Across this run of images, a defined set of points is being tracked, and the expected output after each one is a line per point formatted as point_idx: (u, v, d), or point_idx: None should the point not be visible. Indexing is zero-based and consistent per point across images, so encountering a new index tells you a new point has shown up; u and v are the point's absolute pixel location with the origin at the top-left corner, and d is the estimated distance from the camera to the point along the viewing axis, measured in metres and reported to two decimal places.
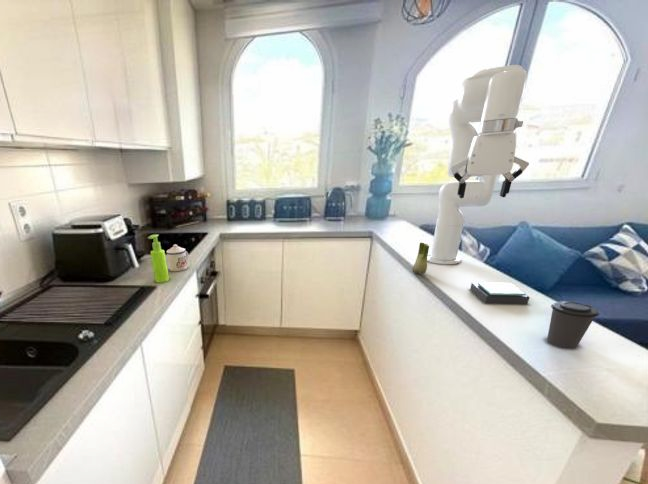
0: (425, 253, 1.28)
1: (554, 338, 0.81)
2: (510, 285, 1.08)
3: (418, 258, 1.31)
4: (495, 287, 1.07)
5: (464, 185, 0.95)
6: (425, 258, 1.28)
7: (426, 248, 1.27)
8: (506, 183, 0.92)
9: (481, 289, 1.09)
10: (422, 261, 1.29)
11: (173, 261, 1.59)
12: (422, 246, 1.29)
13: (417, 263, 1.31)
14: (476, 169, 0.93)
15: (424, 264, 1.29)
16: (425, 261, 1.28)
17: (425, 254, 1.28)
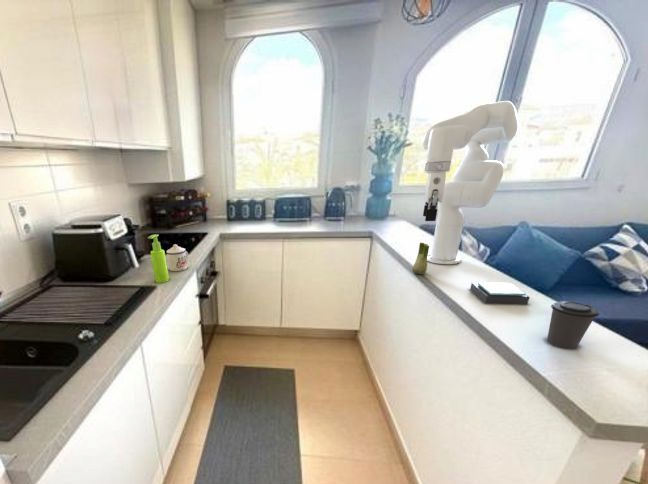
0: (425, 253, 1.28)
1: (554, 338, 0.81)
2: (510, 285, 1.08)
3: (418, 258, 1.31)
4: (495, 287, 1.07)
5: (424, 206, 1.27)
6: (425, 258, 1.28)
7: (426, 248, 1.27)
8: None
9: (481, 289, 1.09)
10: (422, 261, 1.29)
11: (173, 261, 1.59)
12: (422, 246, 1.29)
13: (417, 263, 1.31)
14: None
15: (424, 264, 1.29)
16: (425, 261, 1.28)
17: (425, 254, 1.28)
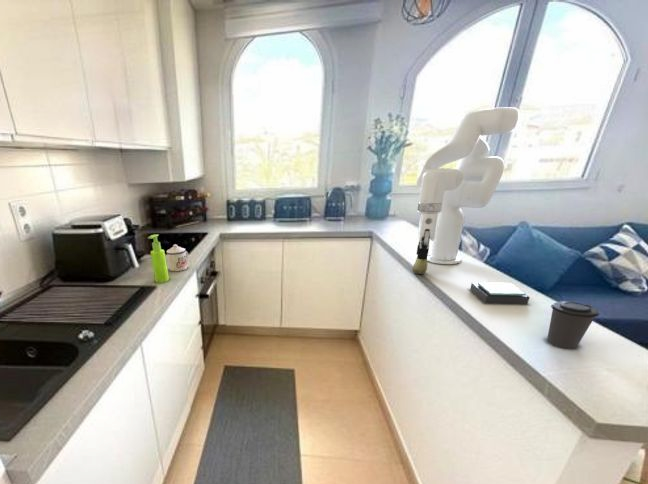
0: None
1: (554, 338, 0.81)
2: (510, 285, 1.08)
3: None
4: (495, 287, 1.07)
5: None
6: None
7: None
8: None
9: (481, 289, 1.09)
10: (422, 261, 1.29)
11: (173, 261, 1.59)
12: None
13: (417, 263, 1.31)
14: None
15: (424, 264, 1.29)
16: (425, 261, 1.28)
17: None
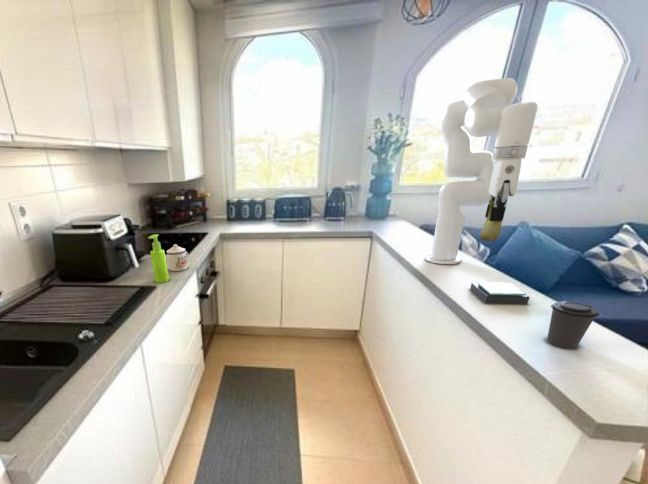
0: None
1: (554, 338, 0.81)
2: (510, 285, 1.08)
3: (488, 221, 1.05)
4: (495, 287, 1.07)
5: (487, 206, 1.06)
6: None
7: None
8: None
9: (481, 289, 1.09)
10: (495, 224, 1.03)
11: (173, 261, 1.59)
12: None
13: (487, 227, 1.05)
14: (489, 189, 1.04)
15: (498, 227, 1.02)
16: (499, 223, 1.02)
17: None
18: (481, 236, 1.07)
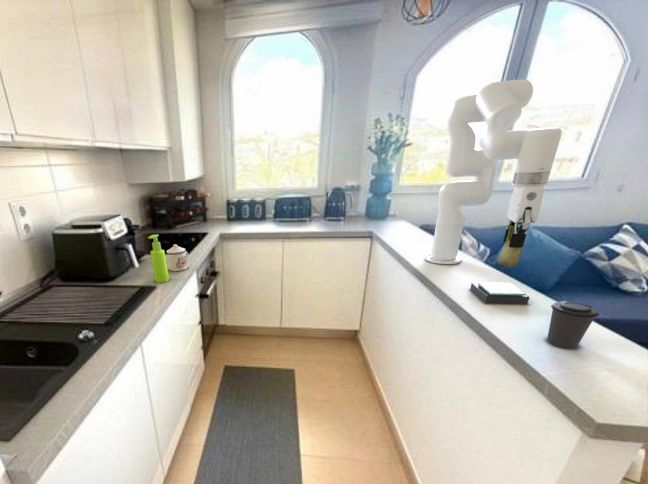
0: None
1: (554, 338, 0.81)
2: (510, 285, 1.08)
3: (507, 246, 1.02)
4: (495, 287, 1.07)
5: (506, 230, 1.03)
6: None
7: None
8: None
9: (481, 289, 1.09)
10: (514, 250, 1.00)
11: (173, 261, 1.59)
12: None
13: (506, 253, 1.01)
14: (508, 213, 1.01)
15: (517, 254, 0.99)
16: (519, 250, 0.99)
17: None
18: (499, 262, 1.03)
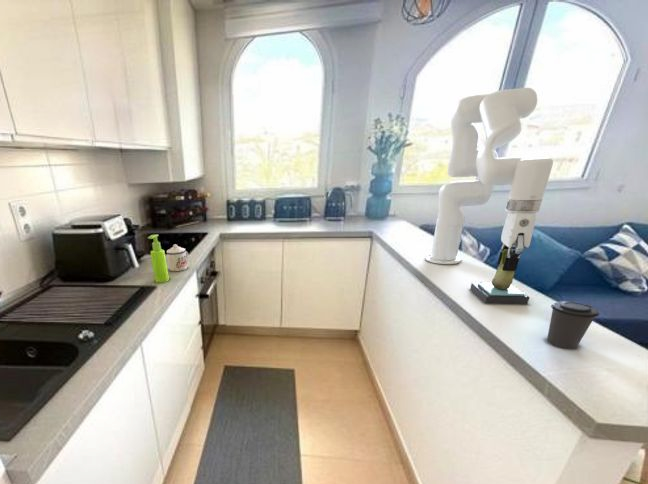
0: None
1: (554, 338, 0.81)
2: None
3: (501, 269, 1.05)
4: None
5: (500, 253, 1.06)
6: None
7: None
8: None
9: (481, 289, 1.09)
10: (508, 273, 1.03)
11: (173, 261, 1.59)
12: None
13: (500, 275, 1.04)
14: (502, 237, 1.04)
15: (511, 277, 1.02)
16: (512, 273, 1.02)
17: None
18: (493, 283, 1.06)
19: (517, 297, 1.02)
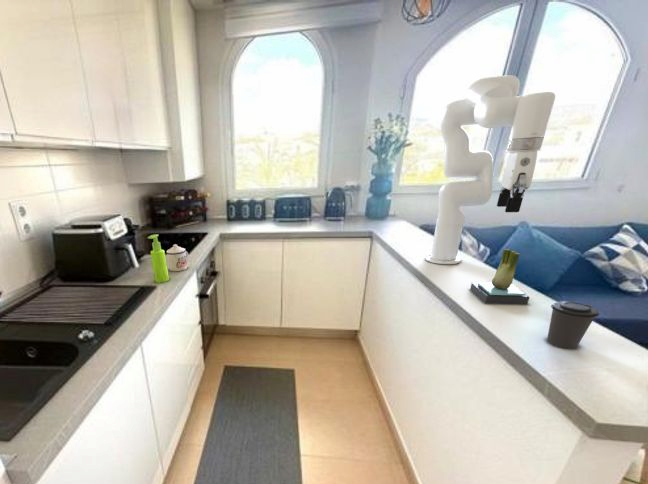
0: (513, 263, 1.01)
1: (554, 338, 0.81)
2: None
3: (501, 269, 1.05)
4: (495, 287, 1.07)
5: (499, 195, 1.05)
6: (513, 269, 1.01)
7: (515, 256, 1.00)
8: None
9: (481, 289, 1.09)
10: (508, 273, 1.02)
11: (173, 261, 1.59)
12: (508, 254, 1.03)
13: (500, 275, 1.04)
14: (502, 181, 1.02)
15: (511, 276, 1.02)
16: (512, 273, 1.02)
17: (513, 264, 1.01)
18: (493, 283, 1.06)
19: (517, 297, 1.02)
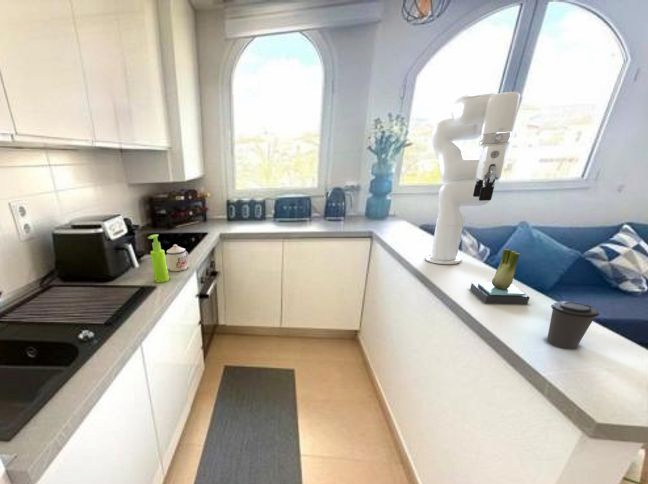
0: (513, 263, 1.01)
1: (554, 338, 0.81)
2: None
3: (501, 269, 1.05)
4: (495, 287, 1.07)
5: (475, 186, 1.15)
6: (513, 269, 1.01)
7: (515, 256, 1.00)
8: None
9: (481, 289, 1.09)
10: (508, 273, 1.02)
11: (173, 261, 1.59)
12: (508, 254, 1.03)
13: (500, 275, 1.04)
14: (477, 173, 1.12)
15: (511, 276, 1.02)
16: (512, 273, 1.02)
17: (513, 264, 1.01)
18: (493, 283, 1.06)
19: (517, 297, 1.02)
